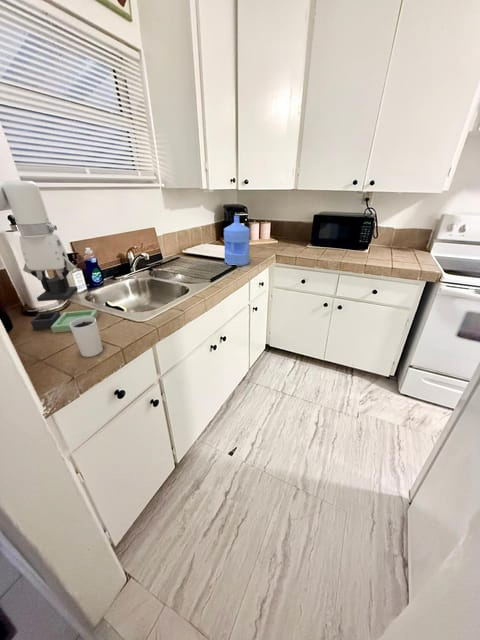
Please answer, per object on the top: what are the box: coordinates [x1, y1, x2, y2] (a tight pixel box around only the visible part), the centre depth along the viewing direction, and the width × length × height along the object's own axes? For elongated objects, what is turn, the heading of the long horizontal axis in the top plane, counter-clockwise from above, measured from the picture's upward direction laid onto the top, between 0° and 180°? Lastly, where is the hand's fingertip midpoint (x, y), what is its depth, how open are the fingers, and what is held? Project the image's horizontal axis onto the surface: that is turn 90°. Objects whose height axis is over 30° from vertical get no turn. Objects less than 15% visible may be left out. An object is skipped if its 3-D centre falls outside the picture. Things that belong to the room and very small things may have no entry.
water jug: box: [223, 215, 251, 267], centre depth 158 cm, size 16×16×28 cm
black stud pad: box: [36, 277, 79, 302], centre depth 82 cm, size 8×8×5 cm
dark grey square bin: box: [29, 311, 62, 331], centre depth 92 cm, size 7×7×4 cm
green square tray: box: [50, 309, 99, 333], centre depth 94 cm, size 12×12×2 cm
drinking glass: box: [70, 317, 104, 358], centre depth 76 cm, size 7×7×10 cm
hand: (57, 289), depth 82 cm, fingers closed on black stud pad, 3 cm apart
